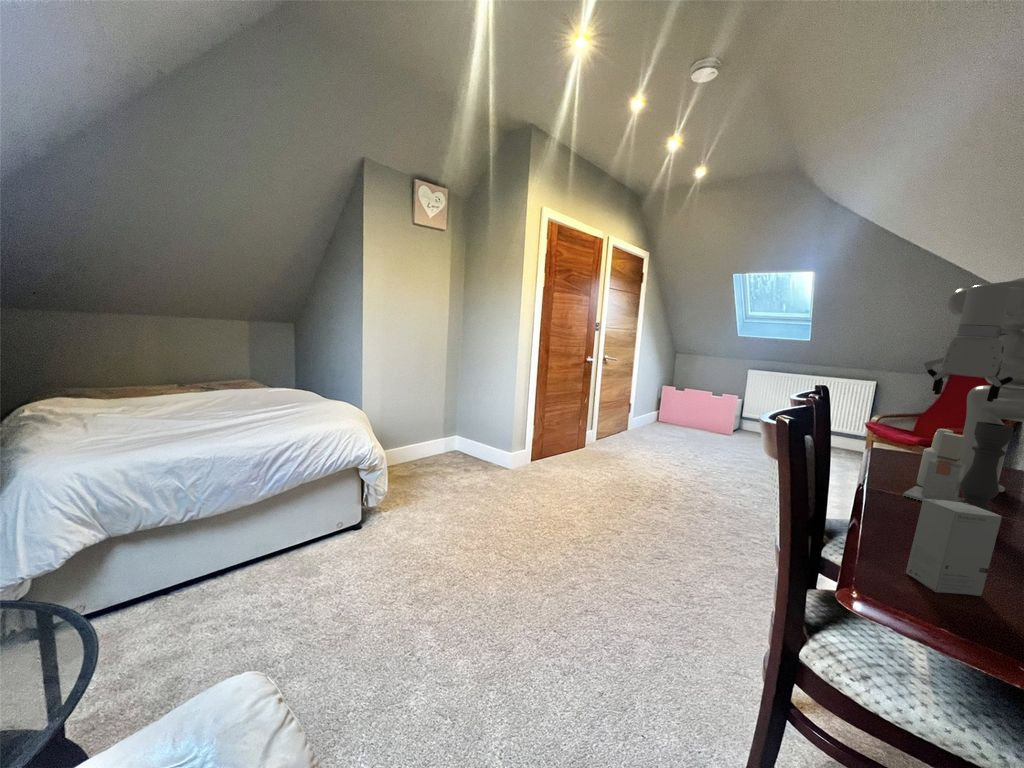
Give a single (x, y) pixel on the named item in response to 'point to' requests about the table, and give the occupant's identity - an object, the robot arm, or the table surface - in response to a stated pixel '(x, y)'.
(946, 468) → the white blocky piece
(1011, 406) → the robot arm
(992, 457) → the candle holder
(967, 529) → the skincare box
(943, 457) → the jack column
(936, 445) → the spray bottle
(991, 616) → the table surface
